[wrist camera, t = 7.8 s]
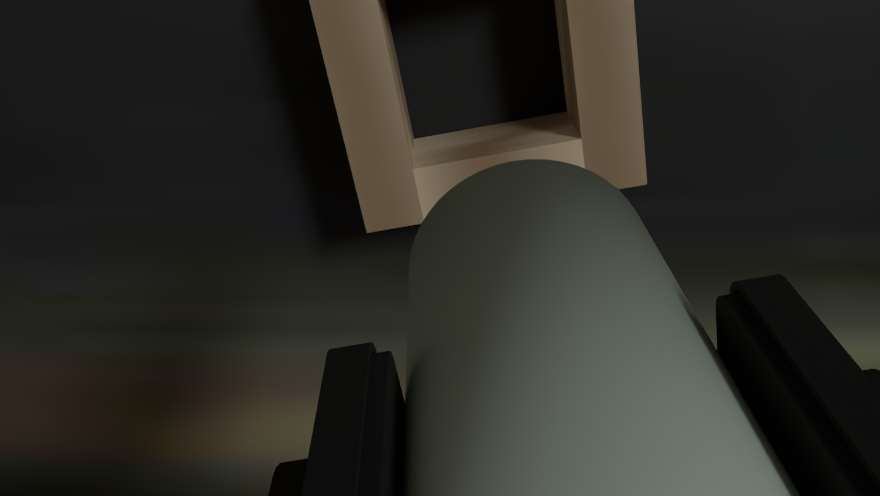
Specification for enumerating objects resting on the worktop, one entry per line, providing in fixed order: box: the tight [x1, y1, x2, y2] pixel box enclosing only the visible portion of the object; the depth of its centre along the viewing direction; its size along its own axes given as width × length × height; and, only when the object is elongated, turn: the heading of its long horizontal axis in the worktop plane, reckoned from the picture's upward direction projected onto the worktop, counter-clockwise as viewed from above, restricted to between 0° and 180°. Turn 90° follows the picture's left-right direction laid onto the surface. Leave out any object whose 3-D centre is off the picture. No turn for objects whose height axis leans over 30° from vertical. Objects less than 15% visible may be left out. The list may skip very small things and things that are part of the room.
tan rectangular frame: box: [309, 0, 647, 233], centre depth 27 cm, size 10×10×3 cm
